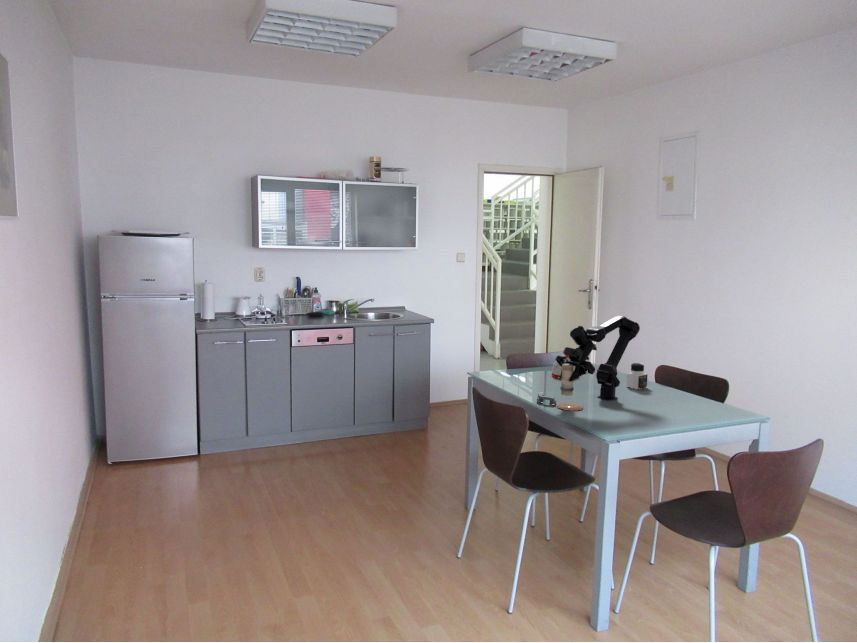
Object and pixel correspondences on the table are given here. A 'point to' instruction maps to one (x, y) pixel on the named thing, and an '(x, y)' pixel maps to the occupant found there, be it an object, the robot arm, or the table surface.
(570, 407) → the terracotta coaster
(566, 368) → the birch ring post
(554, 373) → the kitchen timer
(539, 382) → the table surface
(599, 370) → the robot arm
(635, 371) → the medicine bottle
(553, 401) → the grey angled bracket
